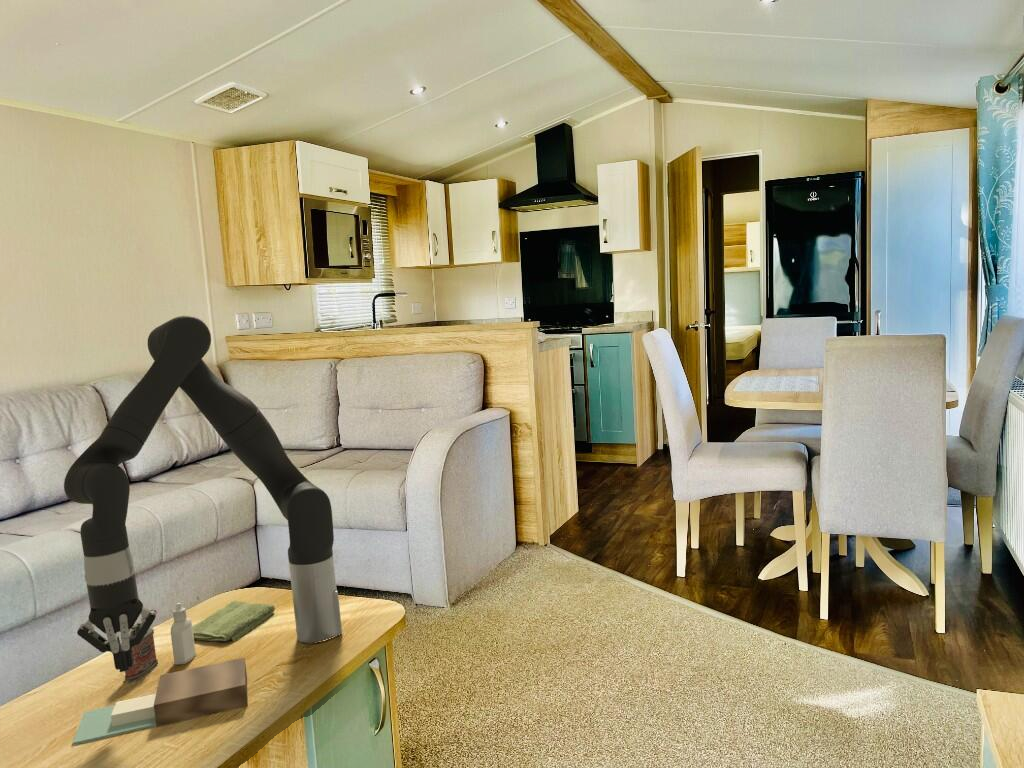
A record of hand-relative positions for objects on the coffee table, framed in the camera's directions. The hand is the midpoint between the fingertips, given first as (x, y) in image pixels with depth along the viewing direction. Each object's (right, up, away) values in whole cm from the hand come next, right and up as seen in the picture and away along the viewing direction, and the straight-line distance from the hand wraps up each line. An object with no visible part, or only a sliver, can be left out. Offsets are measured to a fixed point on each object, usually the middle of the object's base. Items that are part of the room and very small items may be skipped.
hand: (125, 669), depth 135 cm
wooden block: (+12, -8, +5) cm, 15 cm away
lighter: (-6, -8, +19) cm, 21 cm away
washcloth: (+5, -5, +39) cm, 40 cm away
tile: (+2, -8, +1) cm, 9 cm away
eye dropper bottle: (+1, -7, +23) cm, 24 cm away
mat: (-1, -9, +1) cm, 9 cm away
